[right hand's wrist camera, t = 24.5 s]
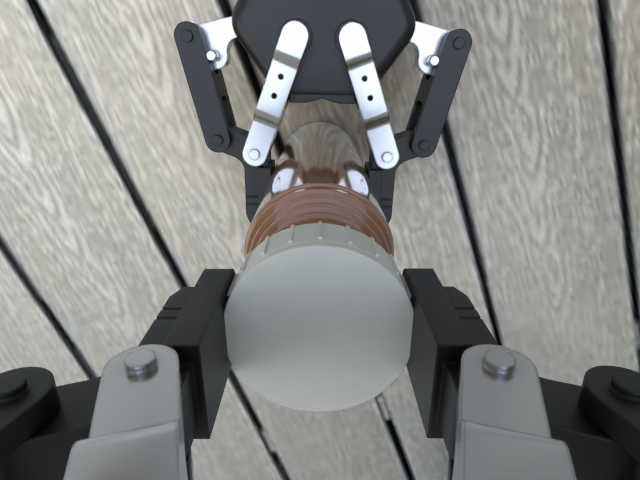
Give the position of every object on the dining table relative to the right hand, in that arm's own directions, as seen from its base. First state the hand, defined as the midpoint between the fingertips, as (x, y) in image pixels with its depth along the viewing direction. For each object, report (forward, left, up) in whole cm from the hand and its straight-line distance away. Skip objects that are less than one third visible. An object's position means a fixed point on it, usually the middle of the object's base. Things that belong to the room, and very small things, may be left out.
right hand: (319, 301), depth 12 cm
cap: (0, 0, +1) cm, 1 cm away
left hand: (-1, +3, -13) cm, 13 cm away
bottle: (0, 0, -20) cm, 20 cm away
